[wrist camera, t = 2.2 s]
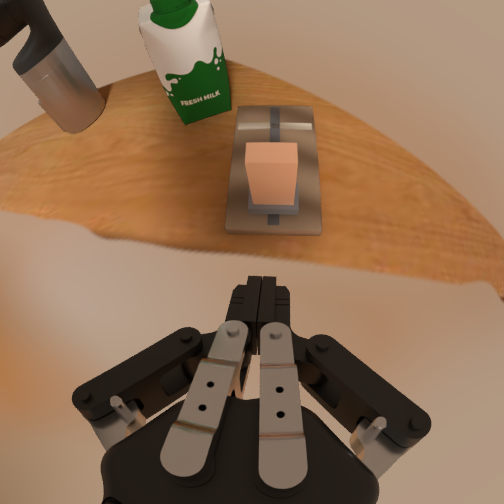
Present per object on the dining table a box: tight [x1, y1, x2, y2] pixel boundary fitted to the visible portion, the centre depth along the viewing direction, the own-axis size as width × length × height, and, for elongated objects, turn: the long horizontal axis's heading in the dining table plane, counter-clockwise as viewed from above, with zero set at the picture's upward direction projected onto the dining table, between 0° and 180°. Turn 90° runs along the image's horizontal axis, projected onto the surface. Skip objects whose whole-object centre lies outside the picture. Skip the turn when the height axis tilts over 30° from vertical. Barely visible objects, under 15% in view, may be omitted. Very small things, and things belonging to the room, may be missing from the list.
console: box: [225, 106, 322, 236], centre depth 31 cm, size 18×10×2 cm, turn 177°
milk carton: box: [138, 0, 231, 125], centre depth 27 cm, size 9×9×20 cm
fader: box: [245, 142, 299, 215], centre depth 24 cm, size 3×5×8 cm, turn 87°
